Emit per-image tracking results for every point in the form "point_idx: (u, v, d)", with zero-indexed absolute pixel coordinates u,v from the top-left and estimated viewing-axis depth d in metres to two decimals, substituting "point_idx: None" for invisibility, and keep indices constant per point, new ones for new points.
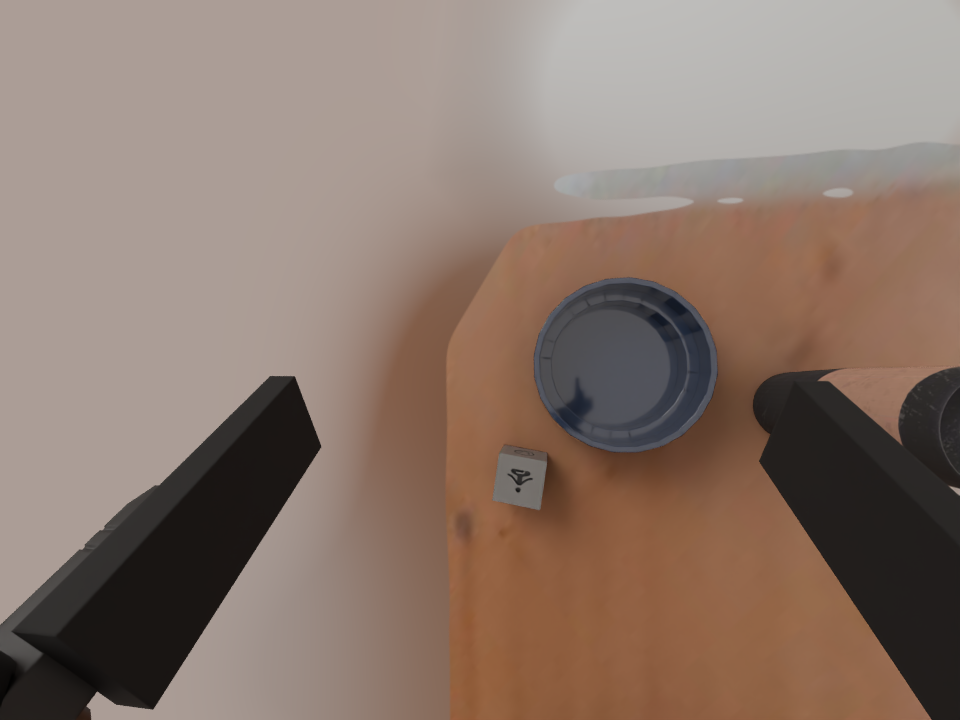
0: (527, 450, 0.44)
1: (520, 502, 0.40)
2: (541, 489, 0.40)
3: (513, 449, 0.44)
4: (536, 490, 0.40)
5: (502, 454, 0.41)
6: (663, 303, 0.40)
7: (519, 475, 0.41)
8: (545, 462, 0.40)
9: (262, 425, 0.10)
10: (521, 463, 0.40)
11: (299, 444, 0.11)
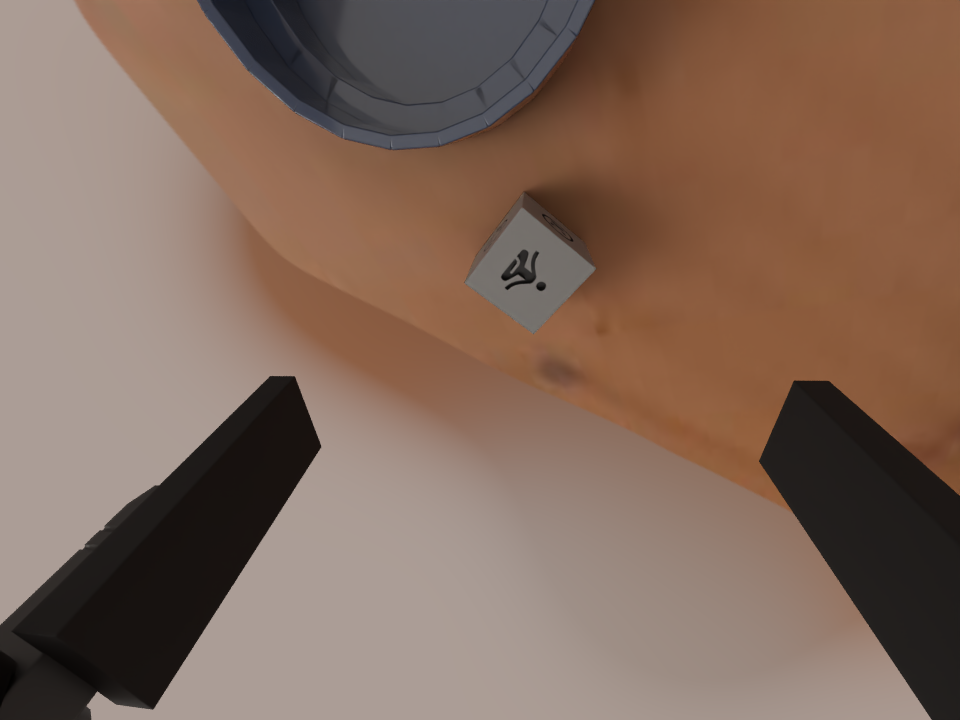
0: (500, 225, 0.24)
1: (563, 293, 0.21)
2: (563, 246, 0.20)
3: (483, 249, 0.24)
4: (560, 256, 0.20)
5: (469, 279, 0.21)
6: None
7: (520, 269, 0.21)
8: (521, 211, 0.19)
9: (262, 425, 0.10)
10: (500, 256, 0.20)
11: (299, 444, 0.11)
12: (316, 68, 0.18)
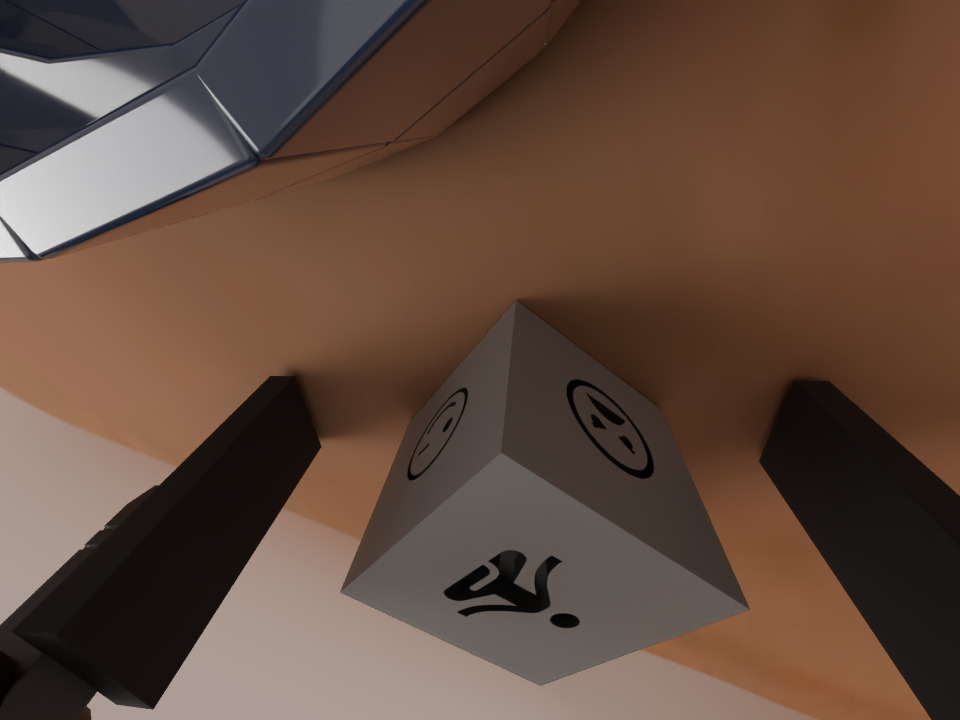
0: (457, 379, 0.09)
1: (631, 639, 0.07)
2: (648, 556, 0.06)
3: (416, 439, 0.10)
4: (632, 573, 0.06)
5: (353, 586, 0.07)
6: None
7: (502, 568, 0.07)
8: (499, 461, 0.05)
9: (263, 425, 0.10)
10: (436, 555, 0.06)
11: (299, 444, 0.11)
12: None
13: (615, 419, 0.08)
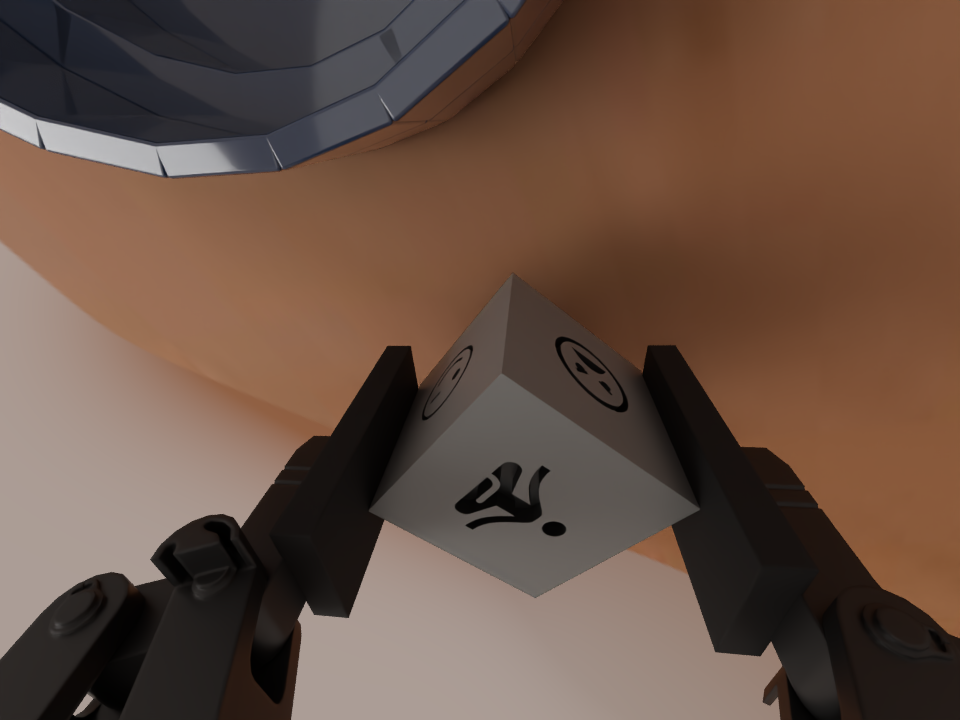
0: (462, 342, 0.11)
1: (608, 545, 0.09)
2: (618, 462, 0.07)
3: (427, 394, 0.11)
4: (606, 479, 0.07)
5: (379, 504, 0.09)
6: None
7: (502, 487, 0.09)
8: (500, 381, 0.07)
9: (396, 386, 0.11)
10: (449, 470, 0.08)
11: None
12: None
13: (597, 371, 0.10)
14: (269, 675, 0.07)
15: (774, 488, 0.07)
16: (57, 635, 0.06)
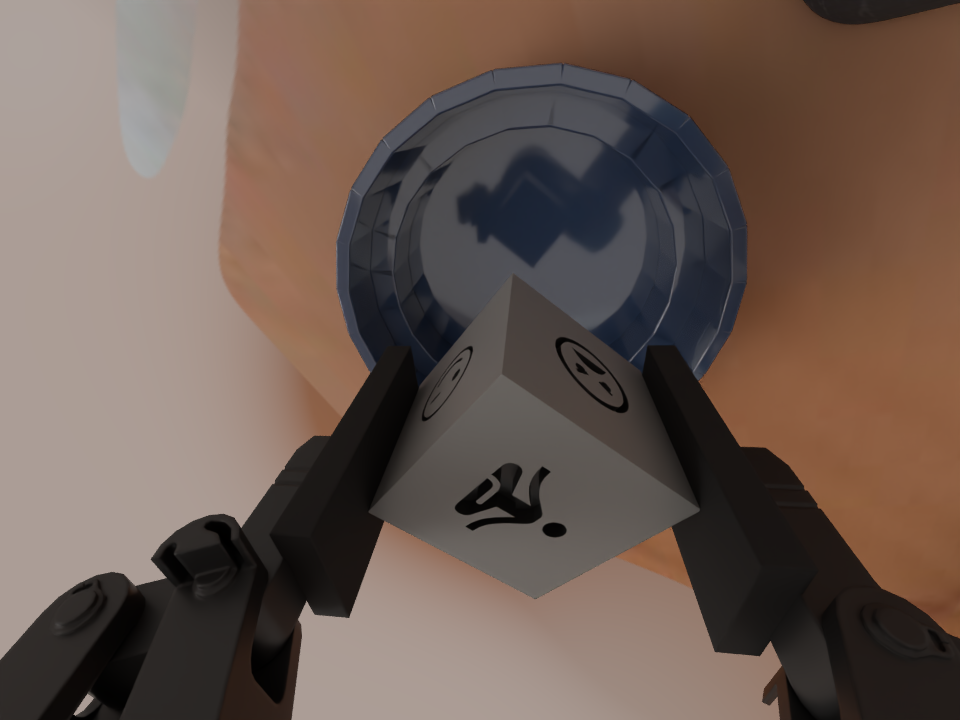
0: (462, 342, 0.11)
1: (609, 546, 0.09)
2: (618, 463, 0.07)
3: (427, 394, 0.11)
4: (607, 480, 0.07)
5: (379, 505, 0.09)
6: (454, 118, 0.16)
7: (502, 488, 0.09)
8: (500, 382, 0.07)
9: (396, 386, 0.11)
10: (449, 471, 0.08)
11: None
12: None
13: (597, 371, 0.10)
14: (270, 675, 0.07)
15: (774, 488, 0.07)
16: (57, 634, 0.06)
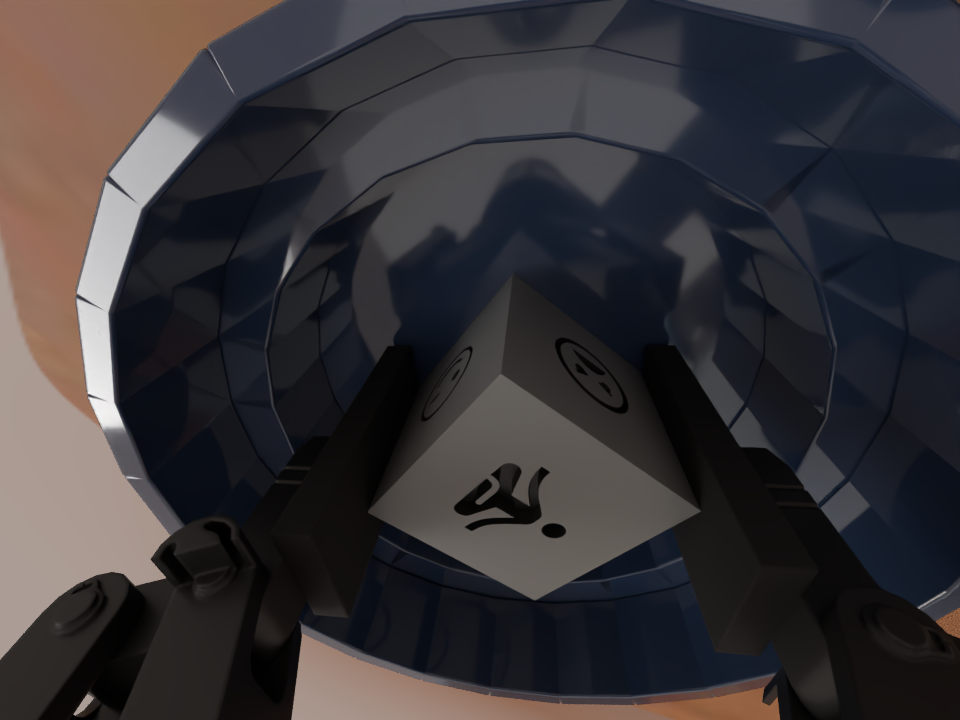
0: (462, 343, 0.11)
1: (608, 547, 0.09)
2: (618, 463, 0.07)
3: (427, 395, 0.11)
4: (606, 481, 0.07)
5: (378, 506, 0.09)
6: (347, 117, 0.07)
7: (502, 488, 0.08)
8: (499, 382, 0.07)
9: (396, 386, 0.11)
10: (448, 471, 0.08)
11: None
12: (379, 542, 0.13)
13: (597, 372, 0.10)
14: (269, 675, 0.07)
15: (774, 488, 0.07)
16: (57, 634, 0.06)
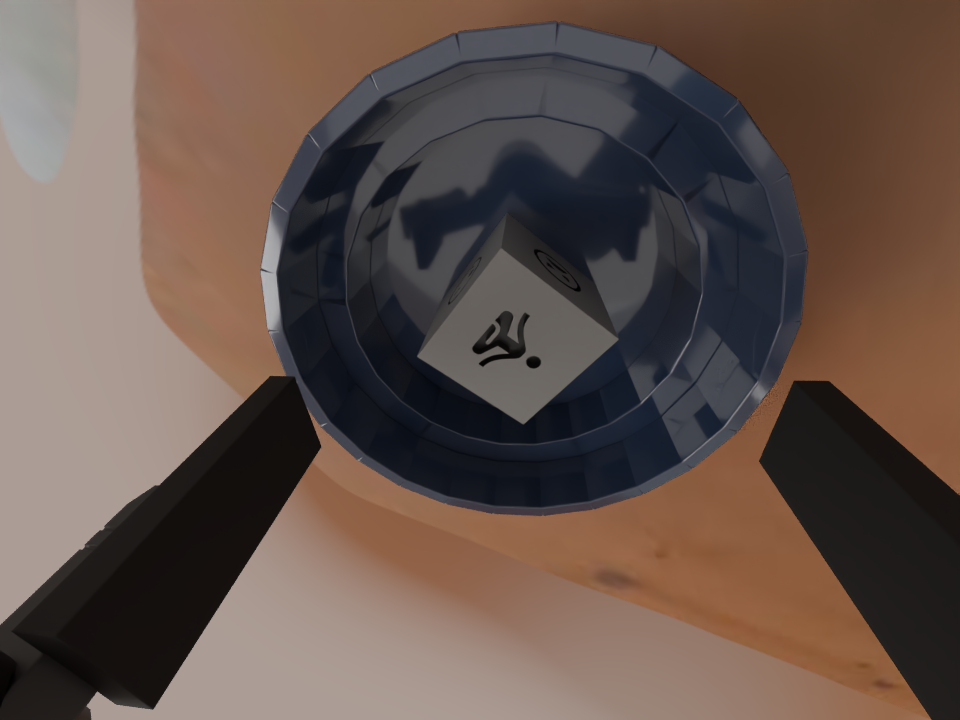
0: (473, 261, 0.16)
1: (567, 372, 0.14)
2: (568, 306, 0.12)
3: (449, 296, 0.16)
4: (562, 320, 0.13)
5: (424, 351, 0.14)
6: (412, 106, 0.12)
7: (501, 337, 0.14)
8: (500, 253, 0.12)
9: (263, 425, 0.10)
10: (469, 319, 0.13)
11: (299, 444, 0.11)
12: (412, 415, 0.19)
13: None
14: None
15: None
16: None
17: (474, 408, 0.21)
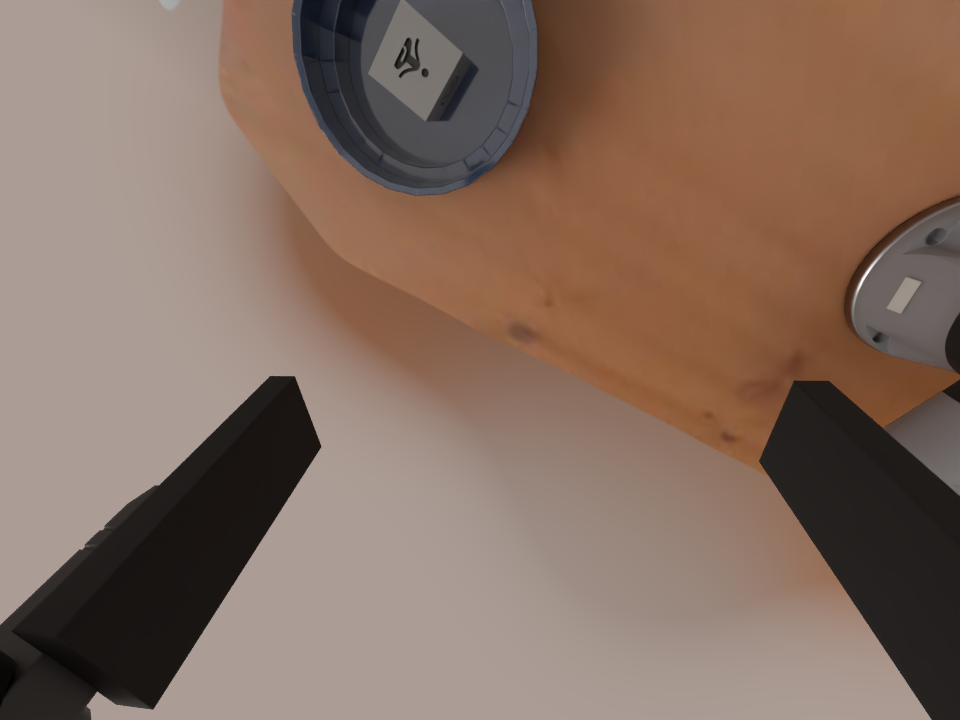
0: None
1: (442, 79, 0.28)
2: (436, 32, 0.26)
3: None
4: (435, 42, 0.27)
5: (371, 69, 0.28)
6: None
7: (409, 60, 0.28)
8: (401, 1, 0.26)
9: (262, 425, 0.10)
10: (391, 45, 0.27)
11: (299, 444, 0.11)
12: (372, 147, 0.33)
13: None
14: None
15: None
16: None
17: (412, 161, 0.35)
